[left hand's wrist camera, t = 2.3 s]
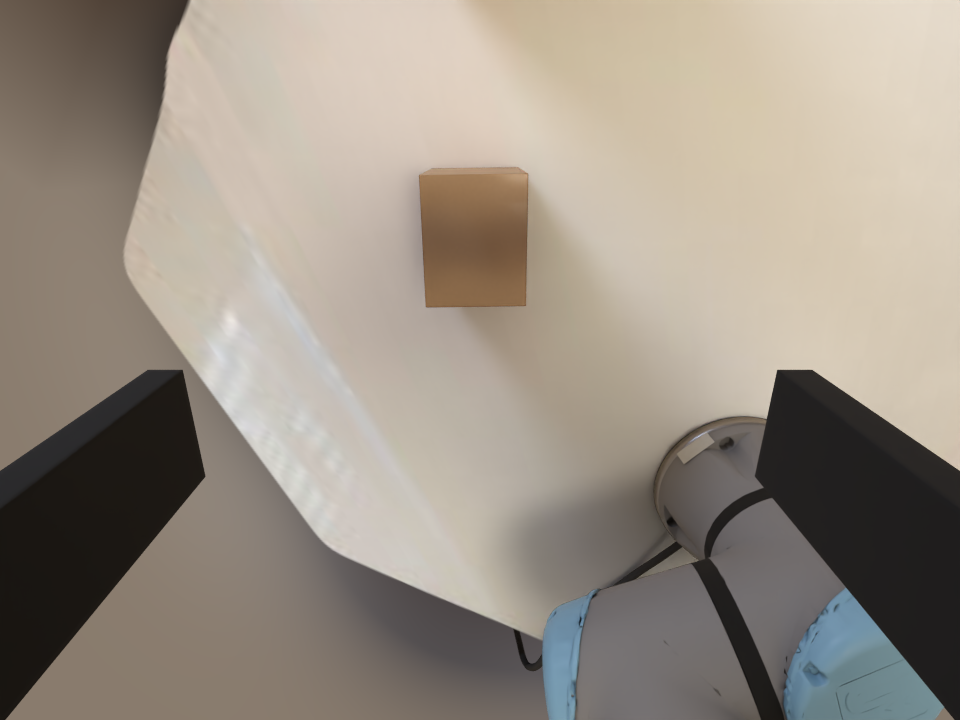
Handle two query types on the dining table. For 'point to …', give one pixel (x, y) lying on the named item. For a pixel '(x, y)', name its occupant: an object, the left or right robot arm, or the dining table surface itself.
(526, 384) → the dining table surface
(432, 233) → the block
